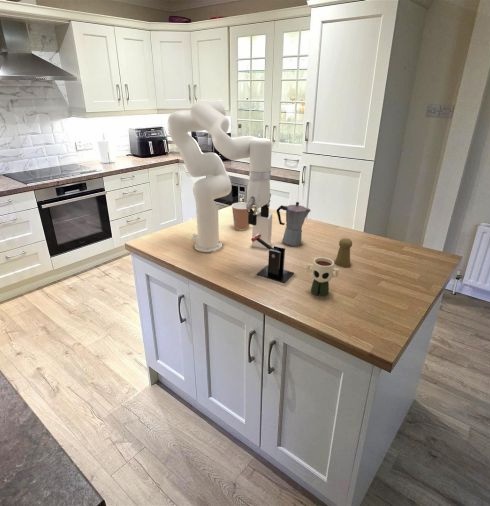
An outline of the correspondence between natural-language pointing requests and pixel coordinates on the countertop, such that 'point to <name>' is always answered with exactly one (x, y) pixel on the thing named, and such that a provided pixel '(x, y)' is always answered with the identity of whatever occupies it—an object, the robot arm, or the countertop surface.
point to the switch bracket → (276, 266)
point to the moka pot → (293, 223)
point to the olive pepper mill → (344, 253)
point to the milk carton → (262, 229)
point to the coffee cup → (240, 215)
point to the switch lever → (263, 242)
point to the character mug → (322, 275)
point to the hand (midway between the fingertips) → (258, 220)
